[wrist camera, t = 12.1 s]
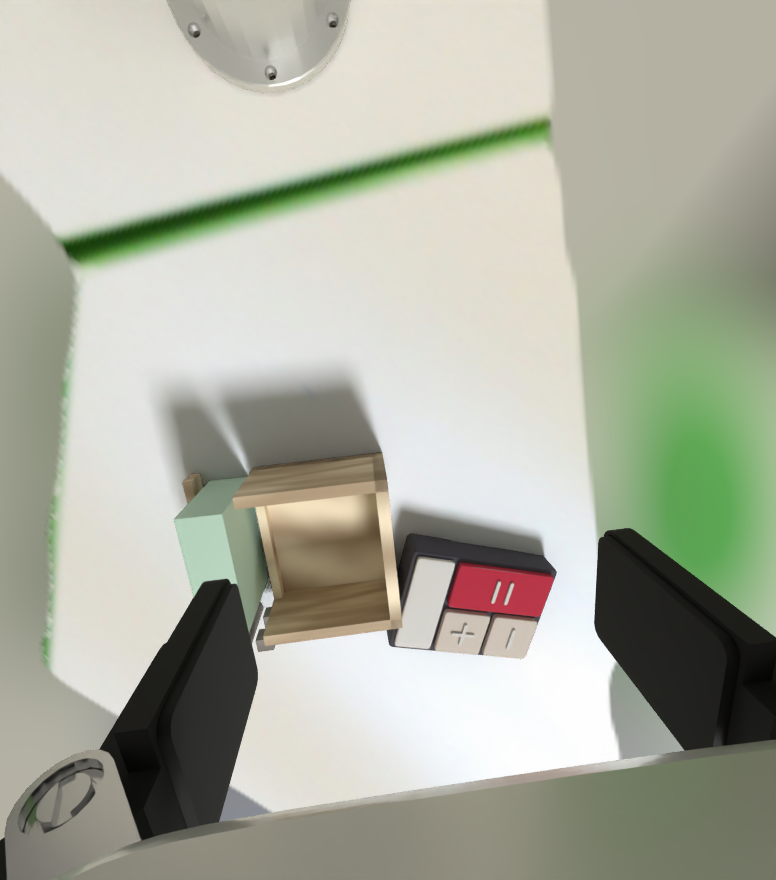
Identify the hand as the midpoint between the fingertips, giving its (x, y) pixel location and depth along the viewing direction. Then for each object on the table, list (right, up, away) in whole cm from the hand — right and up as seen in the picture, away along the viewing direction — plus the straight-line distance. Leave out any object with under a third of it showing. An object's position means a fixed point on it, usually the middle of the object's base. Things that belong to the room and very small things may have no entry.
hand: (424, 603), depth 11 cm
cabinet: (-10, -6, +30) cm, 32 cm away
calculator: (+7, -12, +34) cm, 37 cm away
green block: (-15, -5, +30) cm, 34 cm away
